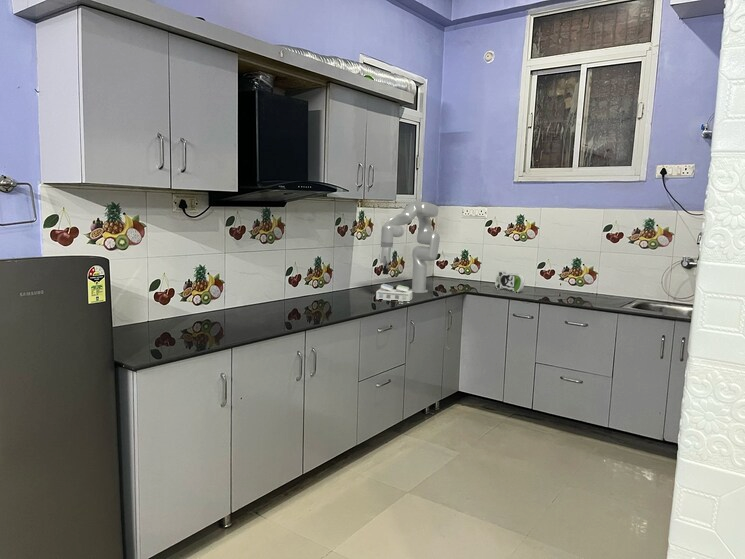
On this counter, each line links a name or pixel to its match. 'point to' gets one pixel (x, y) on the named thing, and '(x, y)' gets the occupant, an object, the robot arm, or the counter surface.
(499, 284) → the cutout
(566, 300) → the counter surface
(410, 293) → the switch box
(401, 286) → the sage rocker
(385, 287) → the slate rocker
